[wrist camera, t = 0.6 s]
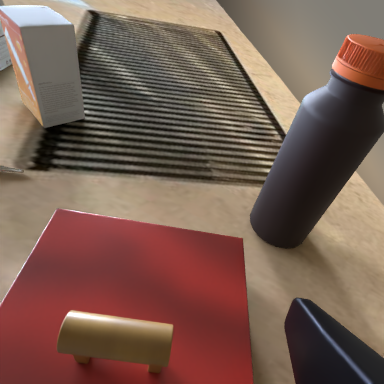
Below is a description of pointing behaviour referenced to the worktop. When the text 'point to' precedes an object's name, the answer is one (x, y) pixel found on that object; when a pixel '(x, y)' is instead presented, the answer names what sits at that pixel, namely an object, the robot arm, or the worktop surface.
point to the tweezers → (10, 169)
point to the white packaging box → (4, 51)
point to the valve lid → (127, 306)
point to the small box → (44, 62)
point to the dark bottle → (323, 144)
